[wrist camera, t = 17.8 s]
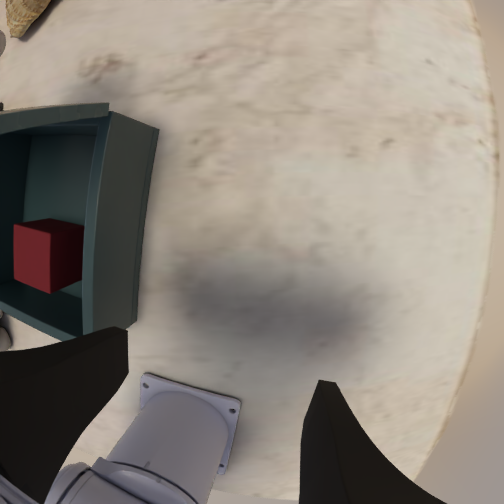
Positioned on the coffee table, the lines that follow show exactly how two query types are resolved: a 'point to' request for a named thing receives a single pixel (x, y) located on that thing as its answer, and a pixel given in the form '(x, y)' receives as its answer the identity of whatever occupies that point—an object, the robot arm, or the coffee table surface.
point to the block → (48, 253)
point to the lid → (46, 111)
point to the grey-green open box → (78, 217)
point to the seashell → (23, 14)
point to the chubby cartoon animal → (4, 337)
